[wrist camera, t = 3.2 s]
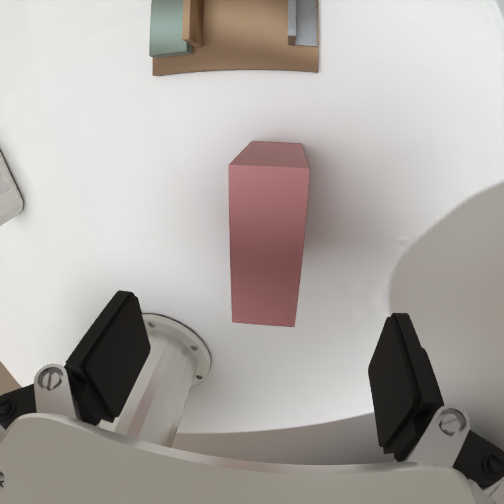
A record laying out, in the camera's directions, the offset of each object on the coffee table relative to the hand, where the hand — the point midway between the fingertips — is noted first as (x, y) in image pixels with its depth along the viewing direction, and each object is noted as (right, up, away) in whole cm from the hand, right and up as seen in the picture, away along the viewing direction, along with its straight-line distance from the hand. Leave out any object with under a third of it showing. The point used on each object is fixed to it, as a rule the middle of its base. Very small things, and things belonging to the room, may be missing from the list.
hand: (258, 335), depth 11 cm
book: (+2, +7, +15) cm, 17 cm away
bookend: (+4, +23, +5) cm, 24 cm away
